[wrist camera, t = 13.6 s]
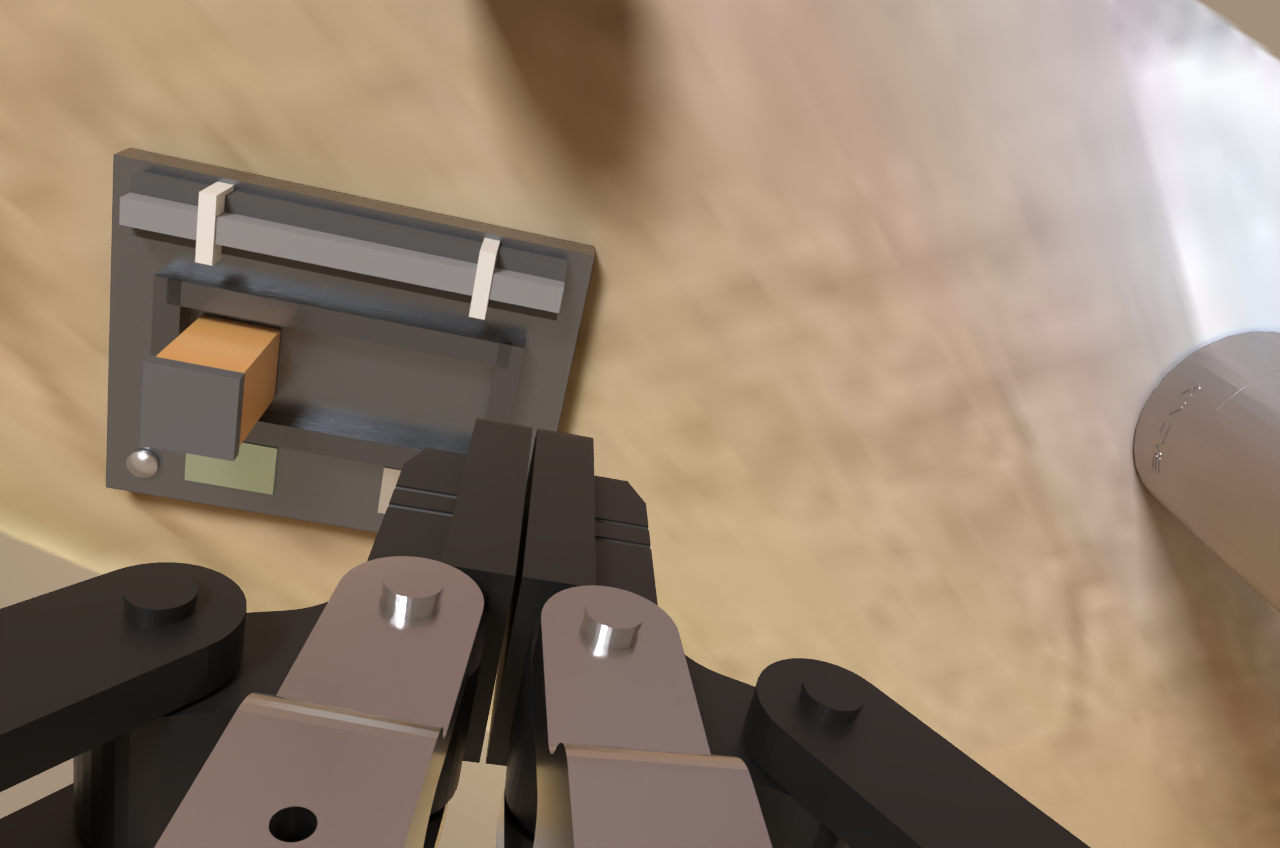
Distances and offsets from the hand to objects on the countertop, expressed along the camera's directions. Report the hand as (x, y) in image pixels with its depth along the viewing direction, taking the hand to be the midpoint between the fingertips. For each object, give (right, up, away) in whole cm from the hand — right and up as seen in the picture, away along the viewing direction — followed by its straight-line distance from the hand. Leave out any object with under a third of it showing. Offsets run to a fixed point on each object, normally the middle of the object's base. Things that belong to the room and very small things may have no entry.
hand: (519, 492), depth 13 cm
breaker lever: (-14, +4, +27) cm, 31 cm away
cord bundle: (-9, +8, +26) cm, 29 cm away
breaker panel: (-11, +3, +29) cm, 31 cm away
